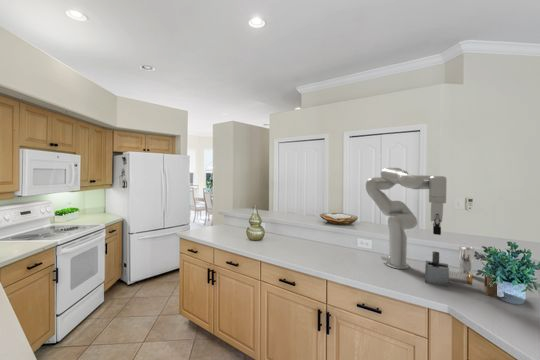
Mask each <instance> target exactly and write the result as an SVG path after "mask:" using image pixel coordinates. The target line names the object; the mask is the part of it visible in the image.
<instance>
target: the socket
mask: <svg viewBox="0 0 540 360" xmlns="http://www.w3.org/2000/svg"><path fill="white" fill-rule="evenodd" d="M491 281H492V279H491V277H490V276H487V277H486V276H485V275H484V281H483V282H484V283H483V285H484V286H483V289H484V291H485V293H486V295H487V296H490V297H495V298H498V297H497V284H496V283H494V284H493V287H490V284H489V283H490V282H491Z"/></svg>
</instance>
